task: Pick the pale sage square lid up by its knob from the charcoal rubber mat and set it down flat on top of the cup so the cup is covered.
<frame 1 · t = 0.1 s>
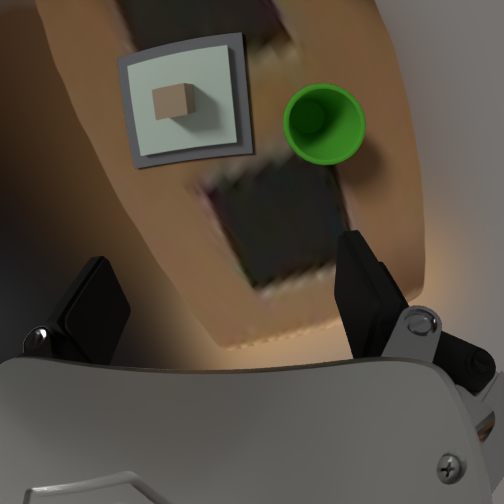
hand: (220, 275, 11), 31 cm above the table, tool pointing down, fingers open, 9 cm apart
lid: (181, 100, 33), point 1 cm above the table, touching mat
cup: (306, 116, 35), on the table
mat: (182, 100, 33), on the table
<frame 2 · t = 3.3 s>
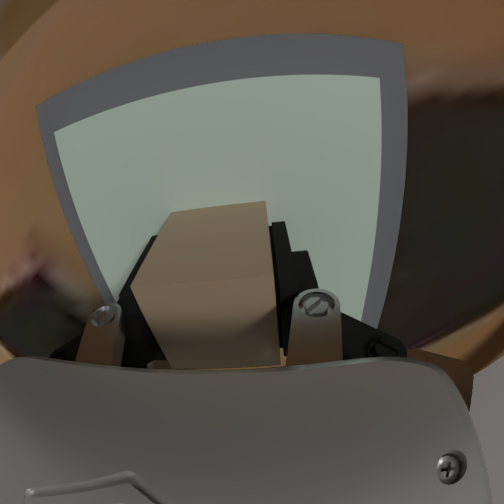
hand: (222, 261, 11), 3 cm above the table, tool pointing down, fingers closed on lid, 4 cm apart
lid: (227, 234, 13), point 1 cm above the table, touching gripper, mat
mat: (227, 228, 14), on the table
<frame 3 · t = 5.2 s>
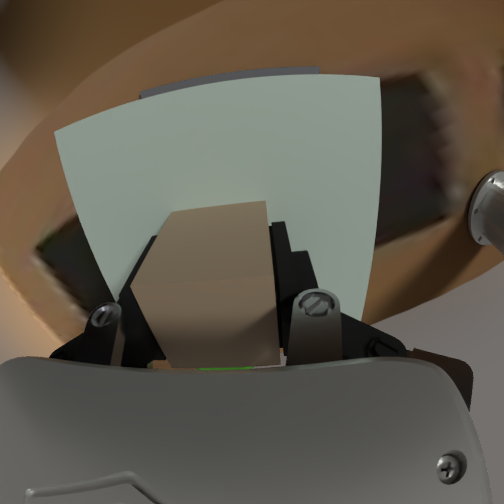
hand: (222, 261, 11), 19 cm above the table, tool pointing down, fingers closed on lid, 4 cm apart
lid: (227, 233, 13), point 17 cm above the table, touching gripper
mat: (238, 156, 28), on the table
when the fingers open (15 cm above the table, at t = 7.5 s): lid drops 1 cm, resting on cup.
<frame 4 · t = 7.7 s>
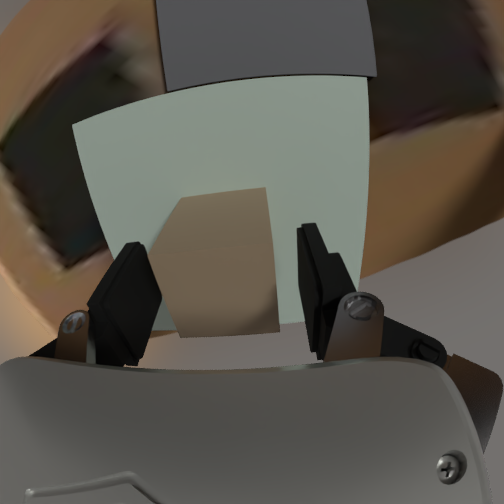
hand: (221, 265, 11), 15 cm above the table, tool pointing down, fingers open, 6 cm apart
lid: (230, 219, 15), point 11 cm above the table, touching cup
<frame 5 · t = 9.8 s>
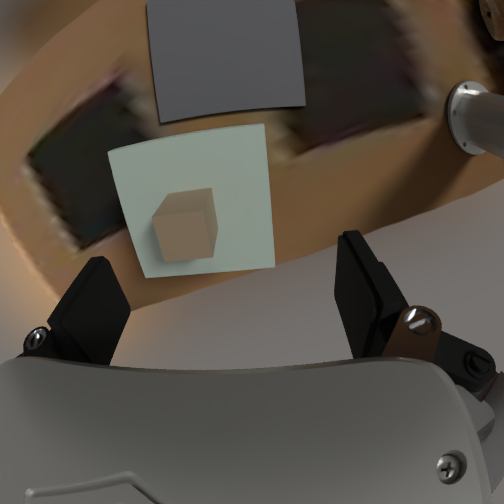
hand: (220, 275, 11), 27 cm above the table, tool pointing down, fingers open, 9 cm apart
lid: (195, 205, 26), point 11 cm above the table, touching cup
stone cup: (495, 13, 16), on the table
mat: (224, 44, 26), on the table
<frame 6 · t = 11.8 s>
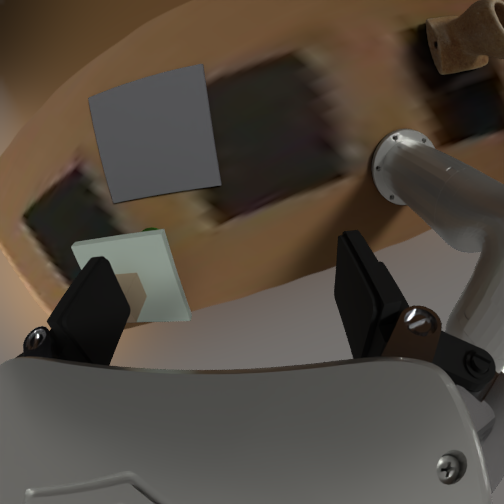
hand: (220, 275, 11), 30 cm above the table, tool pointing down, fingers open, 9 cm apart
lid: (132, 280, 35), point 11 cm above the table, touching cup
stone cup: (450, 38, 24), on the table
mat: (151, 136, 35), on the table
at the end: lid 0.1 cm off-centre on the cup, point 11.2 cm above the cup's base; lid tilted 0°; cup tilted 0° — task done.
